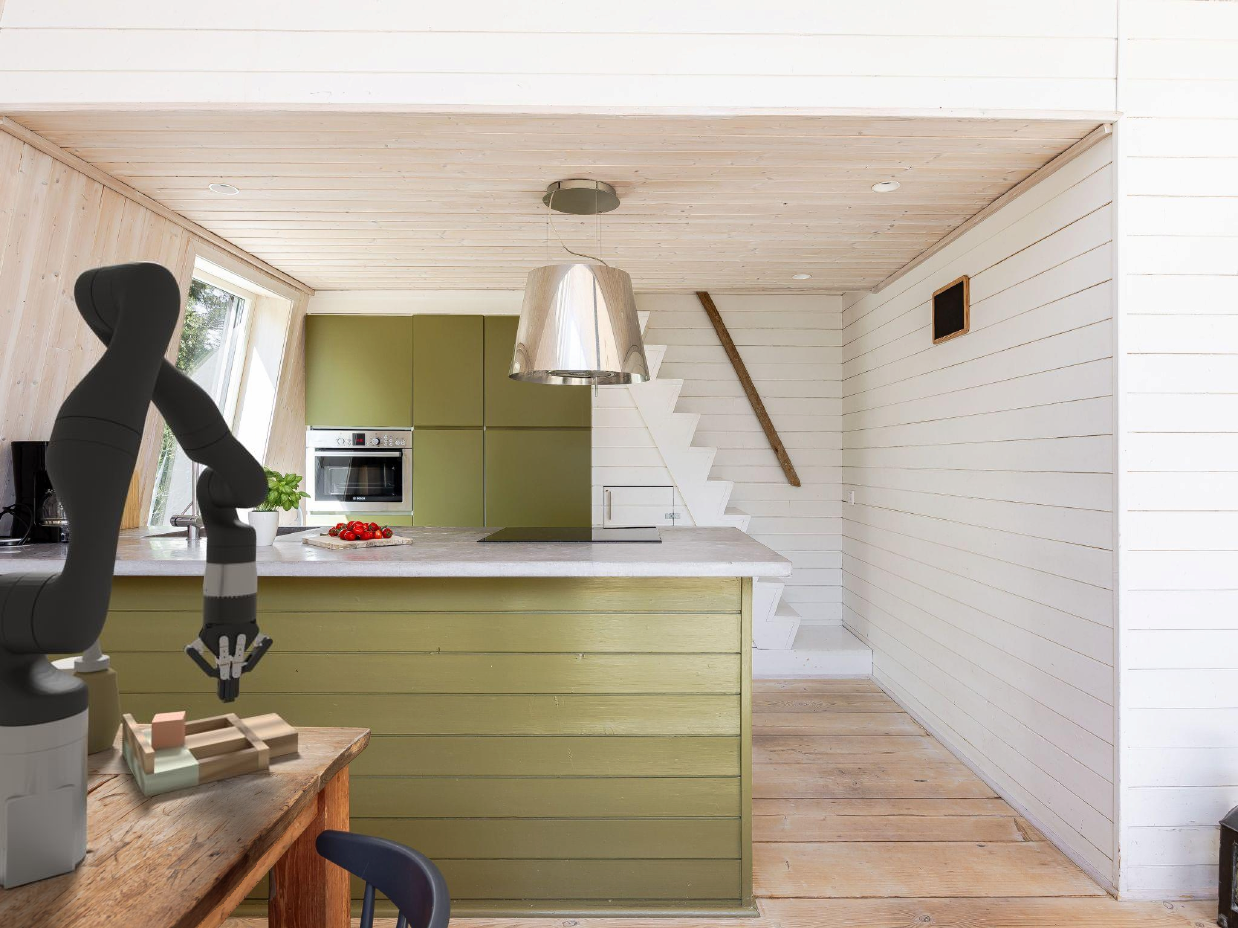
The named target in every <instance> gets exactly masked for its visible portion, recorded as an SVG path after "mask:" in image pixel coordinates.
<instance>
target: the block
mask: <svg viewBox="0 0 1238 928" xmlns="http://www.w3.org/2000/svg"><path fill="white" fill-rule="evenodd" d="M185 722H186V711H185V710H184V711H183V710H182V711H173V712H172V711H171V712H164V713H155V715H154V717H153V719H152V721H151V728H152V730H151V747H152V749H159V748H168V747H176V746H182V745H183V742H184V739H185Z"/></svg>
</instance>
